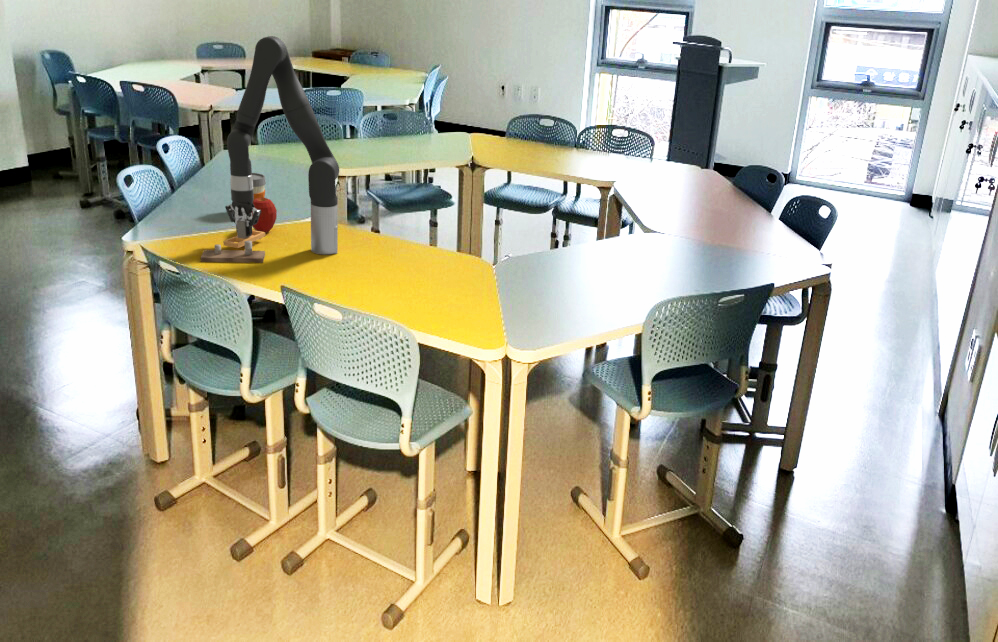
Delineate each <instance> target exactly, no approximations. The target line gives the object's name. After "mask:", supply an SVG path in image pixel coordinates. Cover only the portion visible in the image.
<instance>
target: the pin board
mask: <svg viewBox="0 0 998 642" xmlns="http://www.w3.org/2000/svg"><path fill="white" fill-rule="evenodd" d="M265 257H266V251H265V250H253V242H252V241H245V245H244V250H237V249H236V250H234V249H233V250H231V249H229V250H228V249H222V246H221V244H214V249H204V250H203V251H202V254H201V256H200V262H201V263H203V262H207V263H250V262H255V264H256V263H258V264H259V263H261V264H263V263H264V260H265Z"/></svg>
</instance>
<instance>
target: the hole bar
mask: <svg viewBox="0 0 998 642" xmlns="http://www.w3.org/2000/svg"><path fill="white" fill-rule="evenodd" d="M236 234H237V235H236V236H233V237H230V238H228V239H226V240H223V241H222V242H223V243H222V245H223V246H225V247H230V248H235V249H239V248H241V247H245V241H252V243H253V242H256V241H258V240H261V239H262V238H264V237H266V233H265V232H261V231H257V230H255V229H252V234H251V236H249V237H248V236H246V223H245V220H244V218H242V219H241V220H238V221H237V231H236Z"/></svg>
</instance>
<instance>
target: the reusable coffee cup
mask: <svg viewBox="0 0 998 642" xmlns="http://www.w3.org/2000/svg"><path fill="white" fill-rule="evenodd" d="M265 176H266V175H264V174H262V173H259V172H258V173H257V172H252V179H253V192H254V200H255V199H257V198H266V189H265V187H266V183H267V182H266V177H265ZM262 196H263V197H262Z"/></svg>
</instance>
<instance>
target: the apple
mask: <svg viewBox="0 0 998 642" xmlns="http://www.w3.org/2000/svg"><path fill="white" fill-rule="evenodd" d="M262 197H263V196H262ZM253 204H254V208H256V209H257V210H261V214H260V217H259V219H258V222H257V224H255V225H253V226H252V229H253V230H255V231H261V232H265V234H266V233H269V232H270V231H271V230H272V229H273V227H274V226H275V223H276V220H277V208H276V206H275V204H274V202H273V201H272V200H271V199H269V198H267V197H265V198H257V199H255V200H253ZM252 213H253V211H252ZM252 217H253V214H252Z"/></svg>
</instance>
